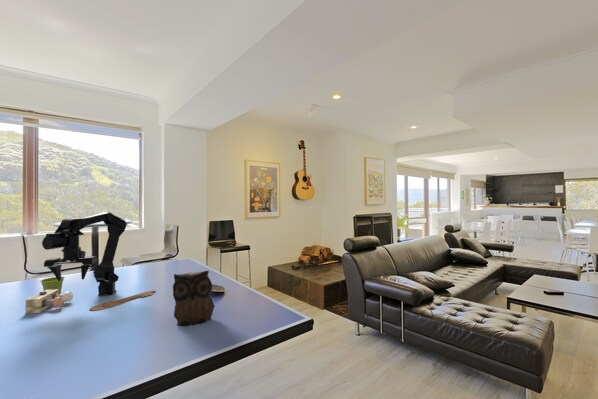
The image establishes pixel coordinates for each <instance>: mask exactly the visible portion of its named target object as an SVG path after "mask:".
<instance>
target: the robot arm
mask: <svg viewBox="0 0 598 399" xmlns="http://www.w3.org/2000/svg"><path fill="white" fill-rule="evenodd" d="M101 222H103V223H104V225H106V227H107V233H108V238H107V241H106V245H105V248H104V252H103V255H102V259H101V262H99V264H96V265H95V266H94V270H93V272H92V274H93V277H94V279H95V281H96V282H97V283H98V284H99V285H98V287H97V289H98V290H97V293H98V294H97V296H109V295H113V294H114V293H116V292H117V289H116V283H117V282H118V281H119V276H118V275H117V274H116V273H115V265H114V259H115V256H116V252H117V248H118V244H119V240H120V237H121V236H122V234H123V233H124V232H125V230H126V227H127V226H128V225H127V222H126V220H125V219H123V218H121V217H119V216H116V215H115V214H113V213H111V211H109V212H107V211H103V212H101V213H96V214H93V215H88V216H85V217H78V218H75V217H74V218H71V217H70V218H64V219H62V220H61V222H60V224H59V225H58V227H57V228H56V230H55V231H54V232H52V233H46V234H45V237H44V238H43V239H42V241H41V246H42V248H43V249H44V250H46V251H47V250H53V249H54V250H55V249H61V248H62V249H61V252H62V253H63V254H62V257H63V258H61V257H53V258H52V257H51V258H48V259H46V260H44V262H43V268H45V267H46V268H47V269H48V270H49V269H50V271H51V272H52V274H53V275H54V277H56V278H57V279H58V281H61V277H62V269H61V268H62V266H63V264H67V265H68V264H82V265H80V275H81V279H82V280H84V279H85V277H86V276H87V273H88V271H89V268H90V267H91V266H92V265H94V264H95V263H97V262H98V258H97V256H96V255H93V256H92V255H90V256H86V251H84V250H82V248H81V246H80V236H83V235H85V234H84V232H82V231H81V230H83V229H84V228H86V227H88V226H90V225H94V224H97V223H101Z"/></svg>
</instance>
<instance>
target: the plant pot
mask: <svg viewBox="0 0 598 399" xmlns="http://www.w3.org/2000/svg"><path fill="white" fill-rule="evenodd" d="M64 279H65V276H61V281H58V279H57V278H56V276H54V277H47V278H44V279H41V280H40V281H39V282H40V283H41V285H42V289H43V291H45V290H54V289H59V295H62V288H63V283H64Z"/></svg>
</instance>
